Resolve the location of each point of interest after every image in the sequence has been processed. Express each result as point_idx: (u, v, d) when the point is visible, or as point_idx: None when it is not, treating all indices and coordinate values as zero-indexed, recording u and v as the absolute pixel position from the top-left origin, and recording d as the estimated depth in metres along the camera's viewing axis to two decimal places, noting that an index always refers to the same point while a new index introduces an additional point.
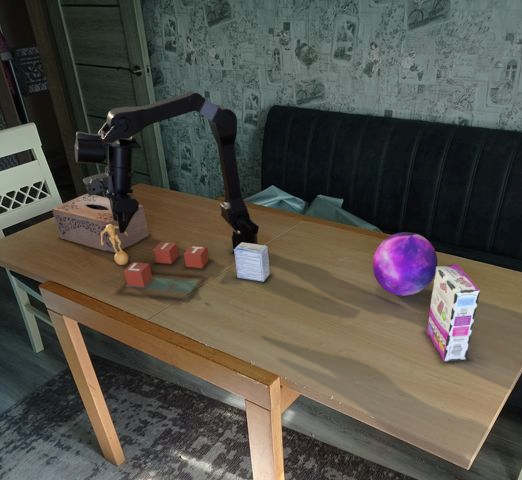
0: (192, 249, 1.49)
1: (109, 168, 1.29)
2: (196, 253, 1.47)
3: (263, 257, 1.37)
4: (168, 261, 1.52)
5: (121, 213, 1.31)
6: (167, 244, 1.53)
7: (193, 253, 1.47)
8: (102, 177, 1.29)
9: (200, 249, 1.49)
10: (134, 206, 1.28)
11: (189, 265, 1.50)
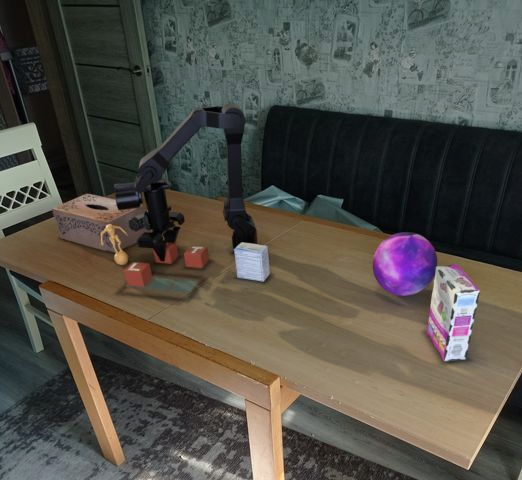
0: (192, 249, 1.49)
1: None
2: (196, 253, 1.47)
3: (263, 257, 1.37)
4: (168, 261, 1.52)
5: None
6: (167, 244, 1.53)
7: (193, 253, 1.47)
8: (142, 216, 1.47)
9: (200, 249, 1.49)
10: (153, 244, 1.42)
11: (189, 265, 1.50)
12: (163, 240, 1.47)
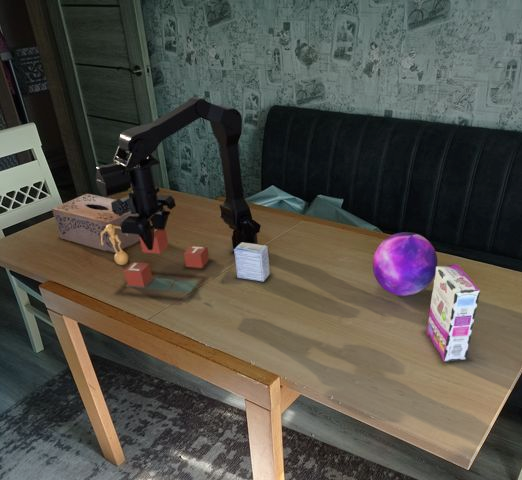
0: (192, 249, 1.49)
1: None
2: (196, 253, 1.47)
3: (263, 257, 1.37)
4: (156, 249, 1.36)
5: None
6: (155, 231, 1.37)
7: (193, 253, 1.47)
8: (127, 198, 1.31)
9: (200, 249, 1.49)
10: (138, 230, 1.26)
11: (189, 265, 1.50)
12: (150, 225, 1.30)
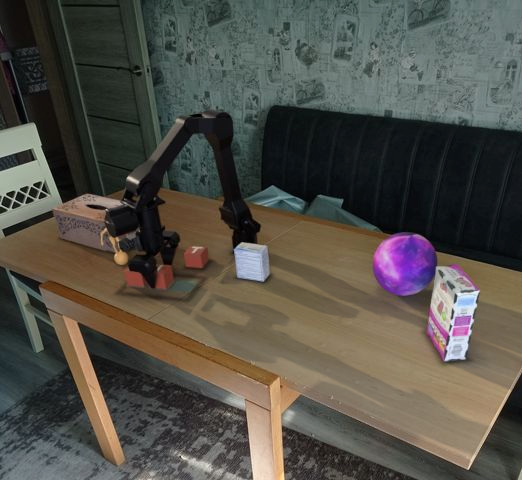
0: (192, 249, 1.49)
1: None
2: (196, 253, 1.47)
3: (263, 257, 1.37)
4: (162, 285, 1.40)
5: None
6: (161, 267, 1.41)
7: (193, 253, 1.47)
8: (134, 236, 1.35)
9: (200, 249, 1.49)
10: (145, 268, 1.29)
11: (189, 265, 1.50)
12: None
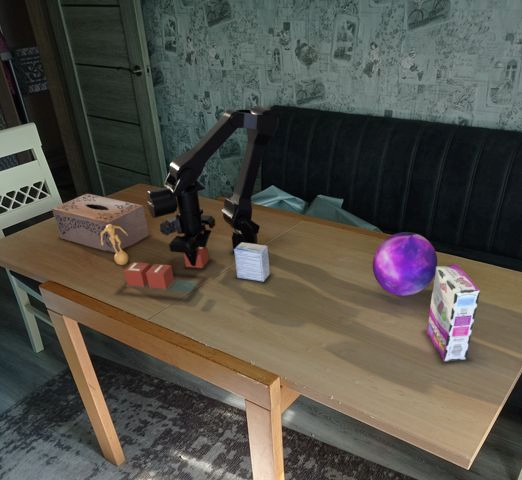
0: None
1: None
2: None
3: (263, 257, 1.37)
4: (162, 285, 1.40)
5: None
6: (161, 267, 1.41)
7: None
8: (174, 219, 1.44)
9: (200, 249, 1.49)
10: (185, 249, 1.38)
11: (189, 265, 1.50)
12: None
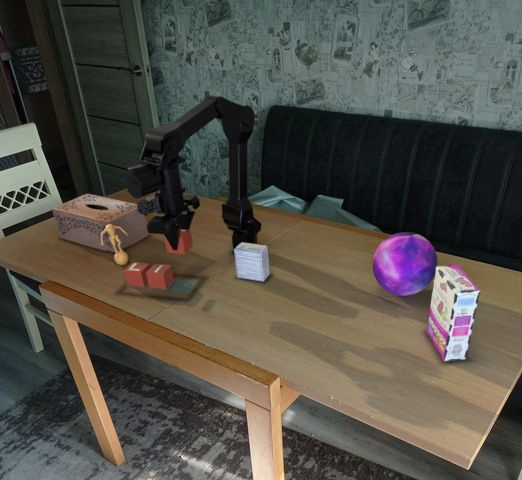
0: None
1: None
2: None
3: (263, 257, 1.37)
4: (162, 285, 1.40)
5: None
6: (161, 267, 1.41)
7: None
8: (153, 198, 1.29)
9: (183, 232, 1.34)
10: (165, 230, 1.24)
11: (170, 249, 1.35)
12: (176, 225, 1.29)
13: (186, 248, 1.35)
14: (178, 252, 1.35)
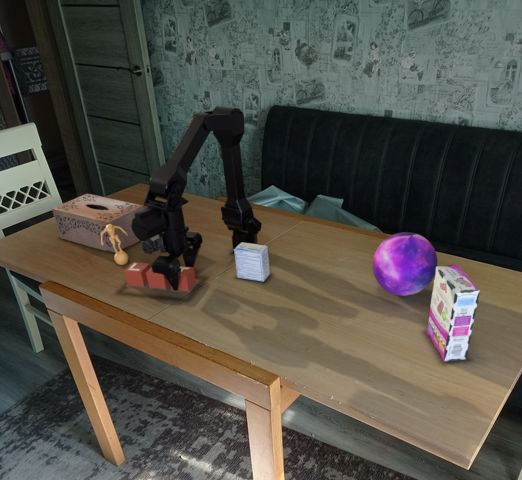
0: None
1: None
2: (181, 274, 1.37)
3: (263, 257, 1.37)
4: (162, 285, 1.40)
5: (168, 273, 1.33)
6: None
7: None
8: (157, 237, 1.33)
9: (186, 270, 1.38)
10: (169, 270, 1.28)
11: None
12: None
13: (190, 285, 1.39)
14: (182, 289, 1.39)
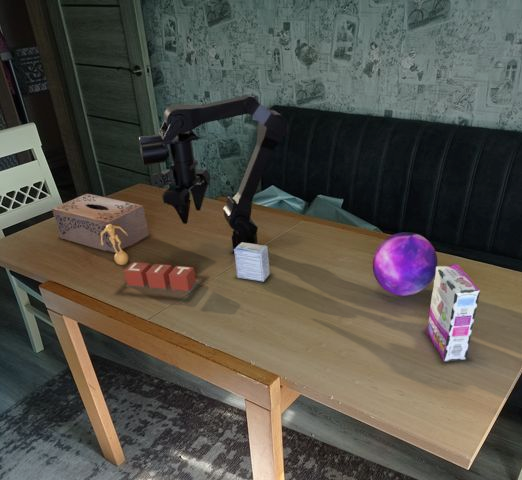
0: (177, 270, 1.39)
1: (172, 162, 1.38)
2: (181, 274, 1.37)
3: (263, 257, 1.37)
4: (162, 285, 1.40)
5: (178, 205, 1.39)
6: (161, 267, 1.41)
7: (178, 274, 1.37)
8: (167, 171, 1.39)
9: (186, 270, 1.38)
10: (179, 199, 1.34)
11: (174, 287, 1.39)
12: None
13: (190, 285, 1.39)
14: (182, 289, 1.39)
